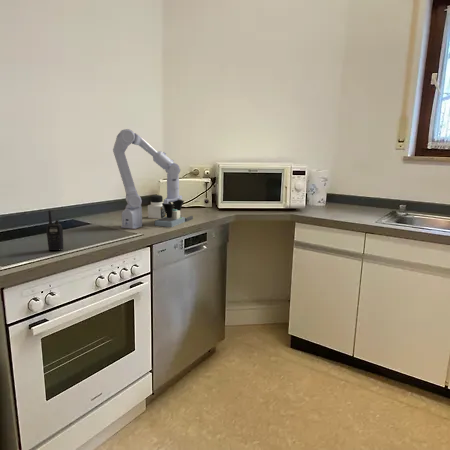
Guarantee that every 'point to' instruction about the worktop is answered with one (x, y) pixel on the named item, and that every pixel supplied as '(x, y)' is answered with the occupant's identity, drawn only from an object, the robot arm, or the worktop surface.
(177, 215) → the plug
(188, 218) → the bracket
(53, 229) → the two-way radio
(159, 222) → the port panel
